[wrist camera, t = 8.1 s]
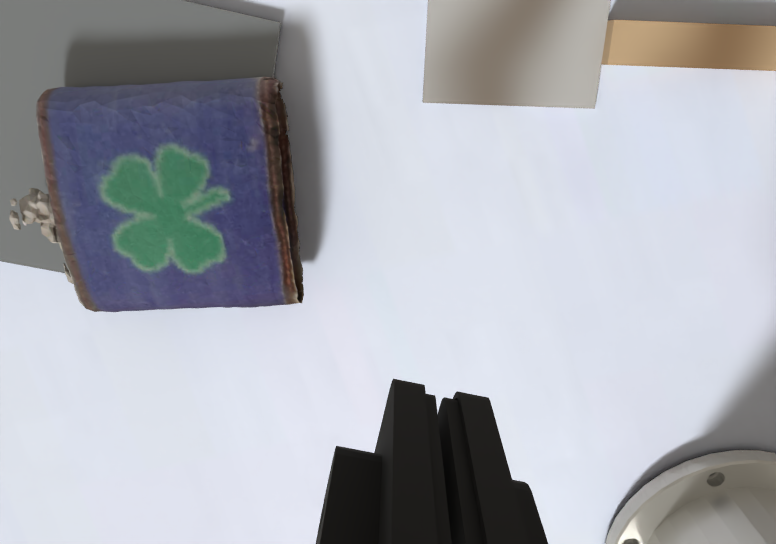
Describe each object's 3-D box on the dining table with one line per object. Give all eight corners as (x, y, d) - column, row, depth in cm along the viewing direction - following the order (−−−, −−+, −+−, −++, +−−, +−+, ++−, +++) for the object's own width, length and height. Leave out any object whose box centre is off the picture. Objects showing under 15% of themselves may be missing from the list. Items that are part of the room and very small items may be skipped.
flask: (284, 74, 24) (10, 88, 23) (274, 78, 21) (-37, 93, 21) (306, 291, 27) (65, 304, 27) (299, 318, 24) (31, 334, 24)
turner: (867, -17, 23) (887, -20, 22) (830, 115, 25) (847, 118, 24) (429, -35, 23) (431, -39, 22) (422, 102, 24) (424, 103, 24)
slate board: (281, 22, 23) (279, 22, 23) (242, 301, 27) (240, 305, 27) (-184, -83, 22) (-194, -86, 21) (-153, 228, 26) (-161, 231, 25)
